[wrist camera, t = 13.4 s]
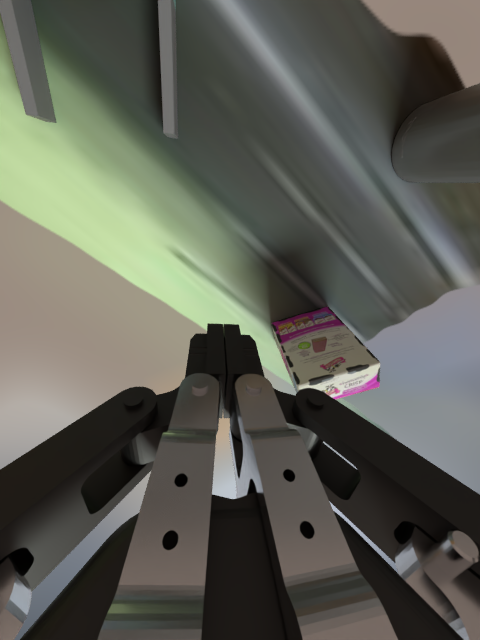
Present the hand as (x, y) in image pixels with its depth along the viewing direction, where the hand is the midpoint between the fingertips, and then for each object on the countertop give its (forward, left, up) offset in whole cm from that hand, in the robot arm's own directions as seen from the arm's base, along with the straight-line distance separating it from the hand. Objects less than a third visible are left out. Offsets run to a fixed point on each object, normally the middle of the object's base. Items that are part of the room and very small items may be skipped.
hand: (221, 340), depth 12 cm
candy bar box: (-17, +15, -29) cm, 37 cm away
